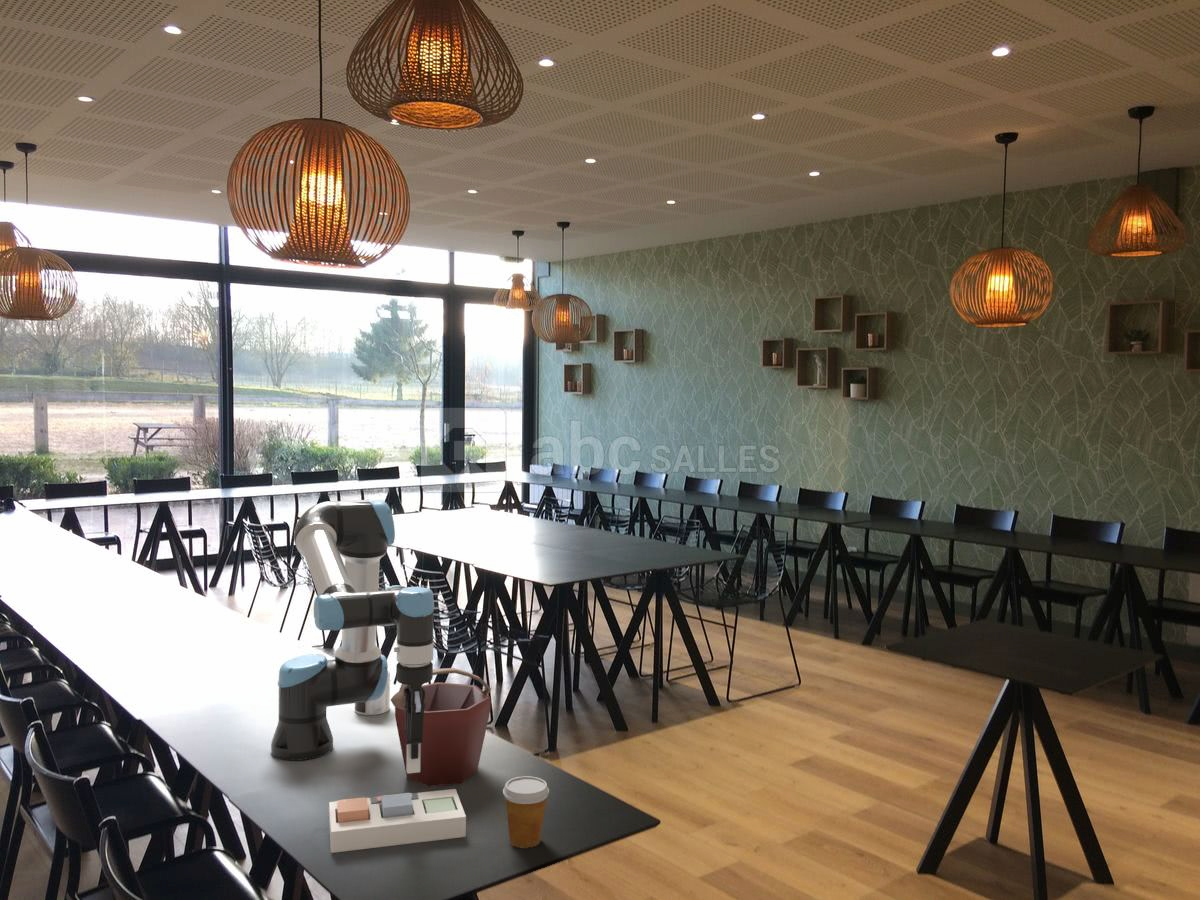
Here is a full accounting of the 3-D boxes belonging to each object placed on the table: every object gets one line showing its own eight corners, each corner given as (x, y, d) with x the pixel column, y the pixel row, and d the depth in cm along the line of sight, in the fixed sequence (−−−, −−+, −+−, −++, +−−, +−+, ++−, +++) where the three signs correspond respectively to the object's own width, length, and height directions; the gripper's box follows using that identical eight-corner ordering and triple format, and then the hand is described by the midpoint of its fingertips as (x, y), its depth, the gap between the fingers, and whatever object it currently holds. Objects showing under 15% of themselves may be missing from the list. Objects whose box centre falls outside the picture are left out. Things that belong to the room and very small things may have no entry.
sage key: (423, 812, 203) (423, 800, 203) (451, 809, 205) (451, 797, 205) (427, 824, 197) (427, 812, 197) (455, 821, 199) (455, 809, 199)
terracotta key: (337, 811, 198) (337, 800, 197) (366, 808, 199) (366, 797, 199) (338, 824, 192) (338, 812, 192) (368, 821, 194) (368, 809, 193)
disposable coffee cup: (548, 830, 200) (549, 775, 199) (547, 852, 190) (548, 794, 189) (503, 830, 199) (504, 774, 198) (500, 852, 190) (501, 794, 189)
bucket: (391, 794, 215) (392, 687, 214) (386, 757, 236) (387, 659, 235) (497, 785, 222) (499, 681, 220) (483, 749, 243) (485, 654, 241)
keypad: (329, 821, 201) (329, 800, 201) (455, 807, 209) (455, 786, 209) (330, 852, 188) (331, 829, 188) (465, 836, 196) (466, 814, 196)
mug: (396, 705, 275) (396, 667, 275) (383, 719, 263) (383, 680, 263) (361, 702, 276) (361, 666, 276) (346, 717, 264) (346, 678, 264)
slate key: (380, 807, 200) (381, 795, 200) (409, 803, 202) (409, 792, 202) (383, 819, 195) (383, 807, 194) (412, 816, 196) (412, 804, 196)
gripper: (393, 654, 202) (391, 761, 204) (400, 672, 190) (399, 786, 192) (428, 652, 205) (426, 757, 206) (437, 669, 192) (435, 782, 194)
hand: (413, 771), depth 199 cm, fingers closed
